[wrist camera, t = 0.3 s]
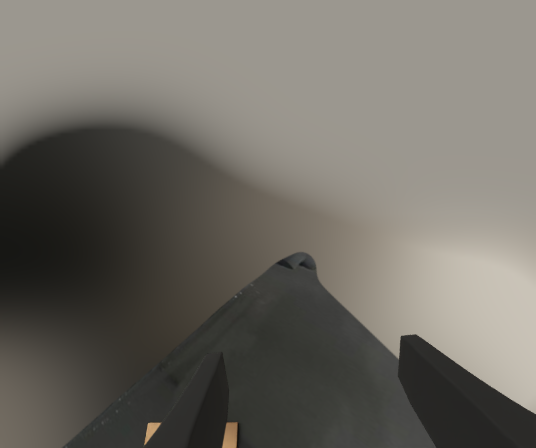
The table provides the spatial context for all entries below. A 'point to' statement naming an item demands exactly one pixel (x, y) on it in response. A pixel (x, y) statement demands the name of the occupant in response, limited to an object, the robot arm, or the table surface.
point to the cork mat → (229, 437)
